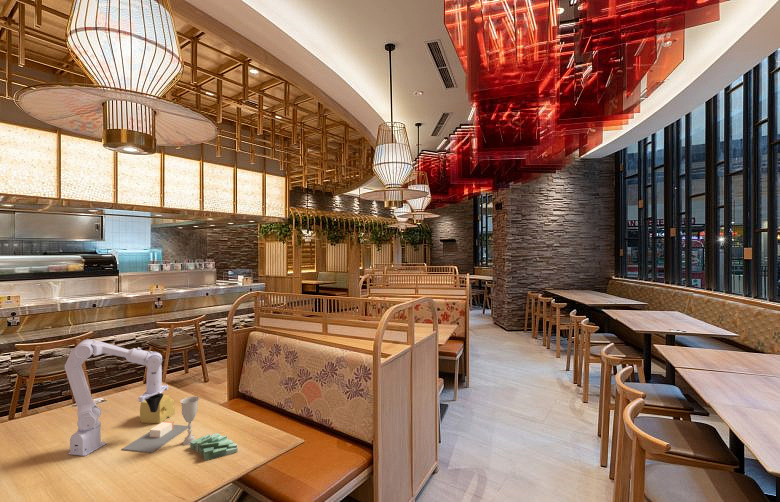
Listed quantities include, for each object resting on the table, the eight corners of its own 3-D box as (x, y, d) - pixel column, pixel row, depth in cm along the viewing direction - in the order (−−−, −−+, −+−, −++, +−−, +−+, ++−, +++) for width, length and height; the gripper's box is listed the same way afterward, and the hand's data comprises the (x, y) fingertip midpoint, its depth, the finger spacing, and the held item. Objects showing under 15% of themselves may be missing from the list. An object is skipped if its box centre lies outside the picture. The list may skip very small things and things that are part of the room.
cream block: (160, 430, 159) (173, 422, 167) (149, 429, 160) (163, 421, 168) (160, 437, 159) (173, 428, 167) (149, 436, 160) (163, 427, 168)
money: (181, 454, 148) (181, 442, 148) (214, 436, 163) (214, 425, 163) (218, 466, 140) (218, 453, 140) (249, 445, 155) (249, 434, 155)
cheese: (175, 414, 183) (175, 394, 182) (159, 424, 172) (159, 403, 172) (155, 413, 184) (155, 393, 183) (138, 423, 173) (138, 402, 173)
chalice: (190, 447, 152) (190, 404, 152) (176, 445, 154) (176, 402, 153) (202, 438, 159) (202, 397, 159) (188, 436, 161) (189, 395, 161)
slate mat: (152, 452, 148) (152, 451, 148) (121, 449, 150) (121, 448, 150) (189, 426, 170) (189, 426, 170) (162, 424, 172) (162, 423, 172)
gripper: (149, 387, 154) (148, 419, 154) (174, 375, 169) (174, 405, 169) (134, 386, 155) (133, 418, 155) (160, 375, 170) (160, 404, 170)
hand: (153, 411), depth 162 cm, fingers closed
